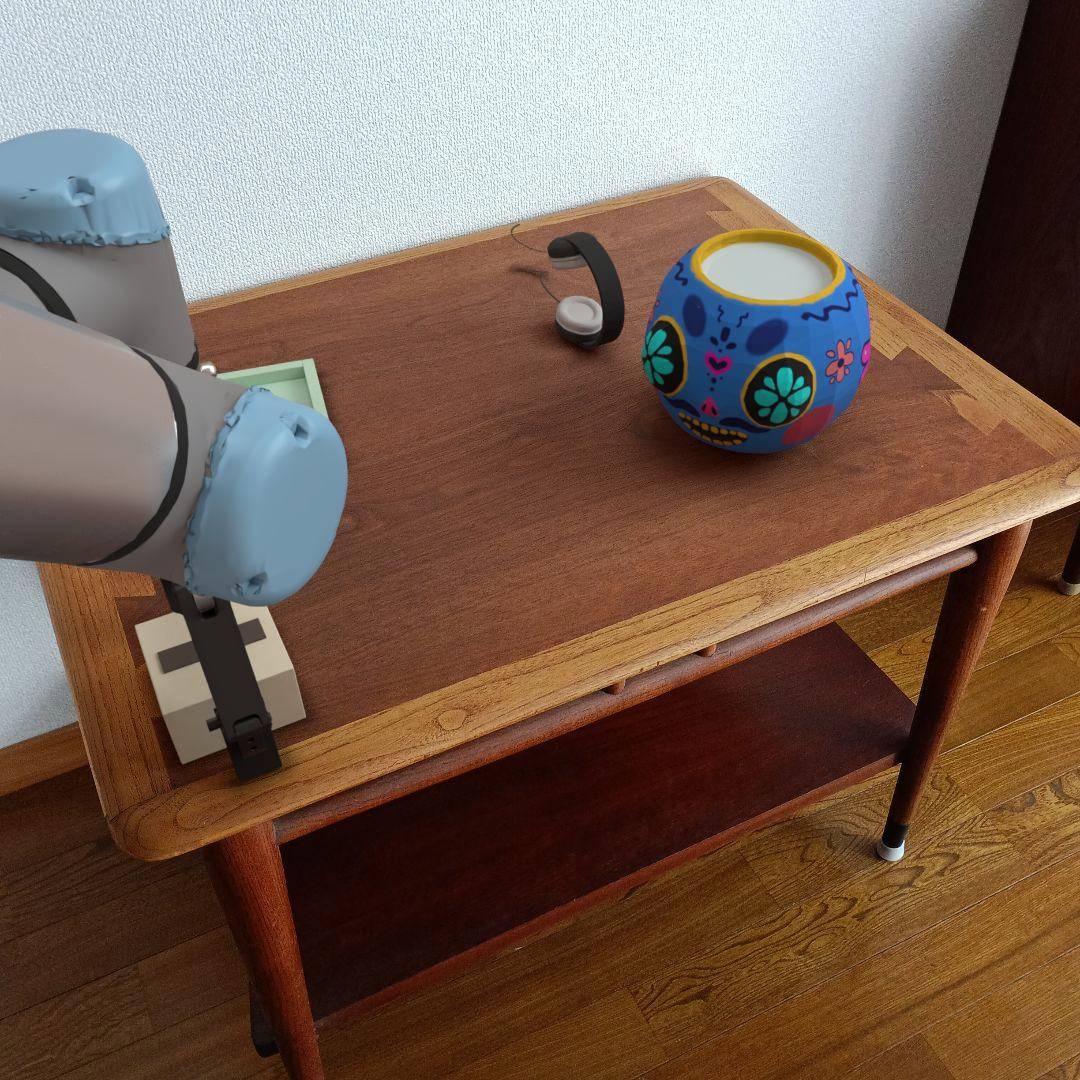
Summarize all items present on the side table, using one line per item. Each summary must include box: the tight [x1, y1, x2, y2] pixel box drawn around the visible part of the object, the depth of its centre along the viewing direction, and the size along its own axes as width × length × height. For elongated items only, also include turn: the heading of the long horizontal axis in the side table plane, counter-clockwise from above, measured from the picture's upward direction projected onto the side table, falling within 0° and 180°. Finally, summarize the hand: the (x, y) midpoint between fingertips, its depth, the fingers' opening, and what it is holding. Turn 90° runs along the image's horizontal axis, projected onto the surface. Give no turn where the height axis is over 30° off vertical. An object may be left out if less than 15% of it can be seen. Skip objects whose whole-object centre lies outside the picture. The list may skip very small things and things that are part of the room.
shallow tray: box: [216, 357, 330, 420], centre depth 92 cm, size 13×13×2 cm
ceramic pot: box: [641, 227, 872, 454], centre depth 88 cm, size 18×18×15 cm
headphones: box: [510, 223, 626, 350], centre depth 102 cm, size 10×4×20 cm
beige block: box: [134, 601, 307, 765], centre depth 71 cm, size 8×8×5 cm
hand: (230, 692), depth 72 cm, fingers open, 13 cm apart
